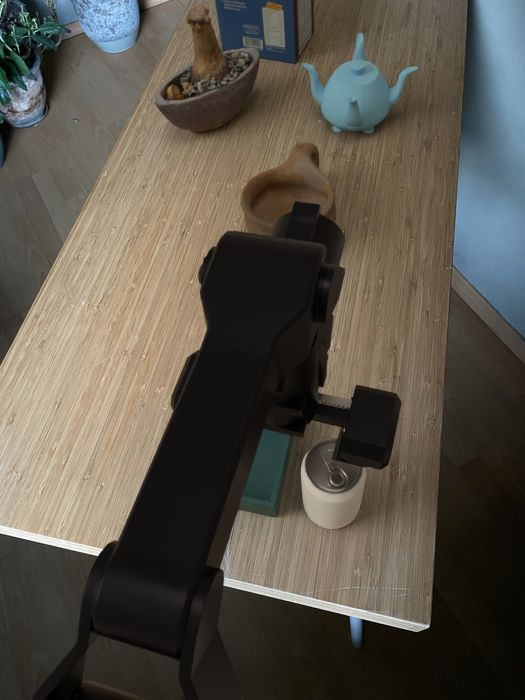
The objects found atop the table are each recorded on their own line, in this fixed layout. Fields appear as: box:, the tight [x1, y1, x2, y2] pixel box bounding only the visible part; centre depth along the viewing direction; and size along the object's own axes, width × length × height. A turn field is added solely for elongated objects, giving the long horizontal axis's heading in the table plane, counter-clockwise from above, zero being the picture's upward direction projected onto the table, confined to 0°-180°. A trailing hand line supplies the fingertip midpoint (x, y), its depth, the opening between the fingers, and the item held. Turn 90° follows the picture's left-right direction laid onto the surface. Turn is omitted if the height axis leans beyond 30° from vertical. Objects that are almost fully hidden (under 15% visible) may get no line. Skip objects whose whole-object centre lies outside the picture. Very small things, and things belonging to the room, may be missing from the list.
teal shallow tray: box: [238, 429, 295, 519], centre depth 69 cm, size 11×11×4 cm
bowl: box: [239, 141, 338, 236], centre depth 86 cm, size 18×14×10 cm
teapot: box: [301, 32, 419, 134], centre depth 96 cm, size 13×13×10 cm
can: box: [300, 437, 367, 530], centre depth 62 cm, size 6×6×12 cm
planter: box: [154, 3, 261, 134], centre depth 95 cm, size 15×17×20 cm
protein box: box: [214, 0, 315, 64], centre depth 107 cm, size 10×15×16 cm
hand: (288, 443), depth 57 cm, fingers open, 9 cm apart
